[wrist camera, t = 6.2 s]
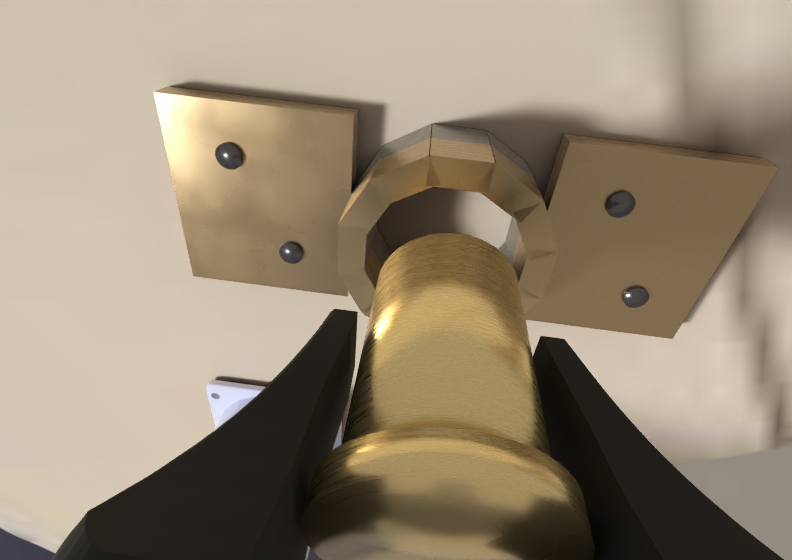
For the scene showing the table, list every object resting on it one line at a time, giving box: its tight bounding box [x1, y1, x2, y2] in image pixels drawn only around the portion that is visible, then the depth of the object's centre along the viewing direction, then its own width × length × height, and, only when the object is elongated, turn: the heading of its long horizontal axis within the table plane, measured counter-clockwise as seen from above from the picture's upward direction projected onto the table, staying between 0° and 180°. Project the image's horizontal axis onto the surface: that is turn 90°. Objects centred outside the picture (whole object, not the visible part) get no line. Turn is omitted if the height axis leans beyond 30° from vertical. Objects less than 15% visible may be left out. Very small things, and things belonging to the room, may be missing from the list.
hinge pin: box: [301, 233, 595, 560], centre depth 10 cm, size 5×5×7 cm
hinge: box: [154, 86, 779, 339], centre depth 17 cm, size 8×22×4 cm, turn 85°
